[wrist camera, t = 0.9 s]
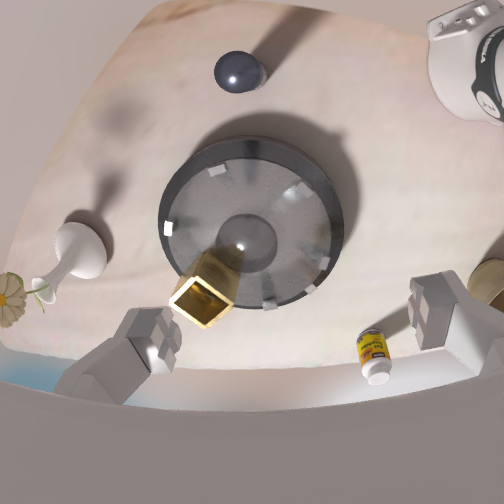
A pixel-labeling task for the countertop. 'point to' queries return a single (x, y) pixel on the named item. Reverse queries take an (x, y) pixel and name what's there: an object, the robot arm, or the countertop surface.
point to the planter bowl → (488, 284)
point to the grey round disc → (245, 238)
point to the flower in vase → (54, 271)
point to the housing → (269, 151)
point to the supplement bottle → (374, 357)
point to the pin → (239, 72)
